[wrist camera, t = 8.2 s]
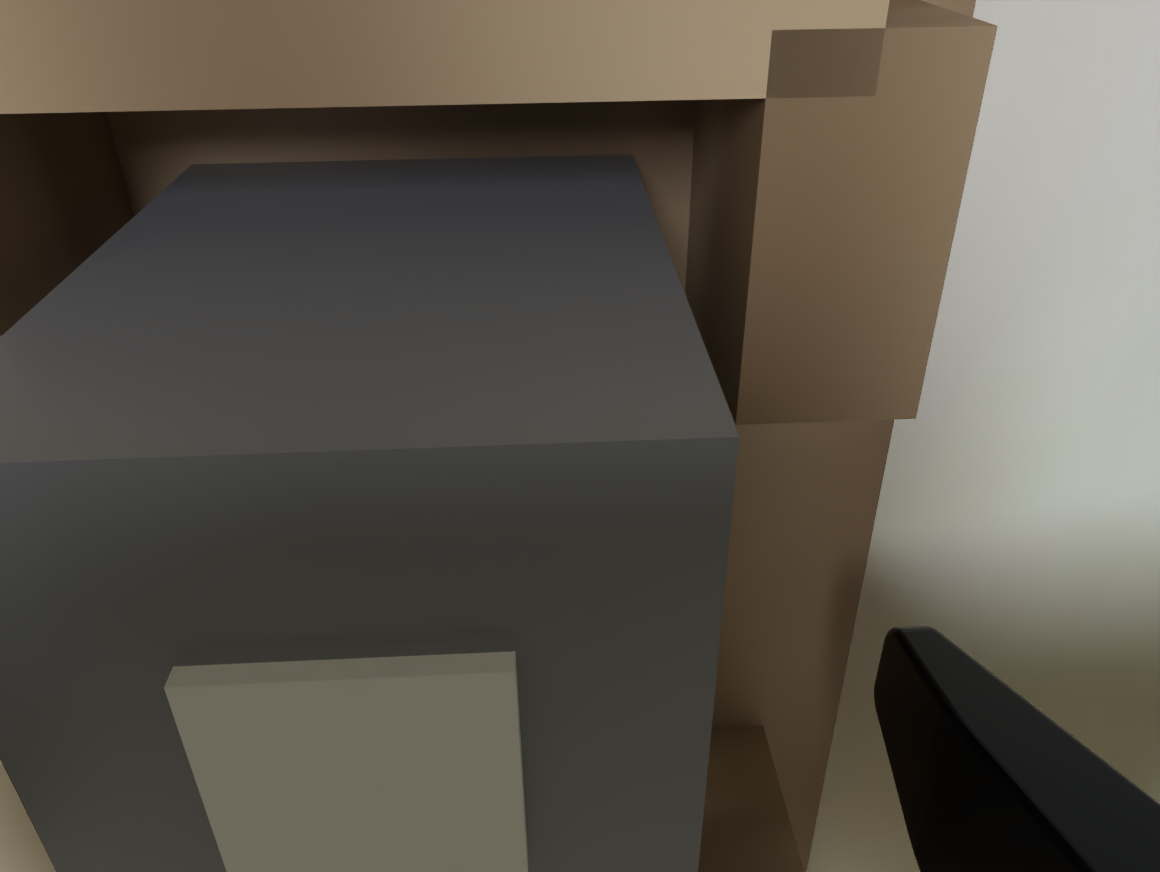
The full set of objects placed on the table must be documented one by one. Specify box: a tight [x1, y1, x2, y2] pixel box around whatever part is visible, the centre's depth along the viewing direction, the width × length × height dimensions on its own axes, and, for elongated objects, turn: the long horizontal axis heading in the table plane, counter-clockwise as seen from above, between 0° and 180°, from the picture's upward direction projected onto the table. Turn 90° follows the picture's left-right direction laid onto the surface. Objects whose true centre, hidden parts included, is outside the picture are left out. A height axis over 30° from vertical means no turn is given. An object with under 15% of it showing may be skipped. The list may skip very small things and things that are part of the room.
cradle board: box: [0, 0, 997, 872], centre depth 10 cm, size 10×16×3 cm, turn 1°
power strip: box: [0, 154, 739, 872], centre depth 9 cm, size 4×9×5 cm, turn 1°
